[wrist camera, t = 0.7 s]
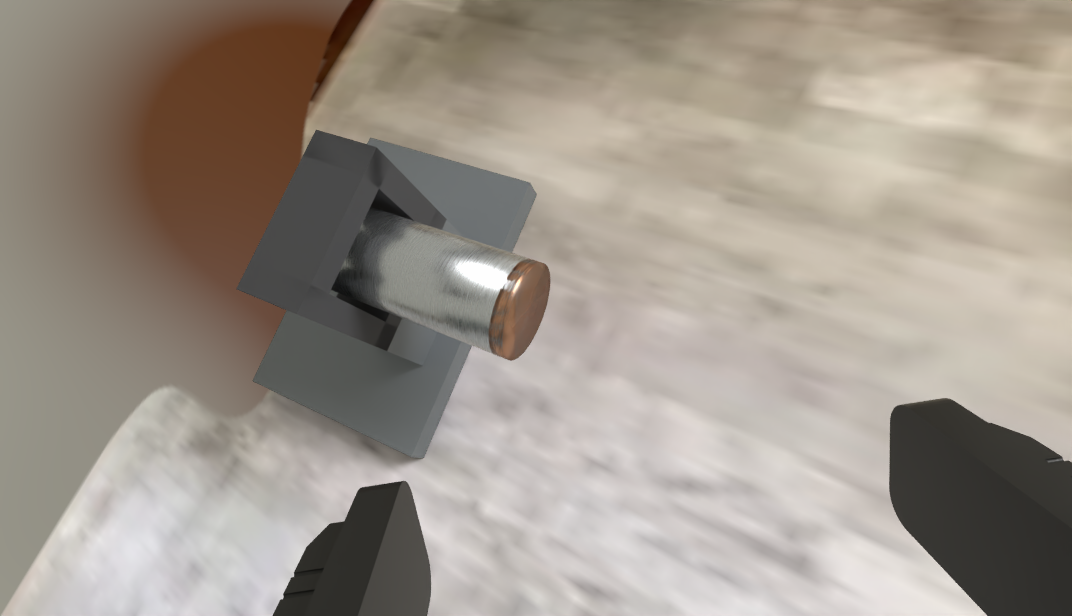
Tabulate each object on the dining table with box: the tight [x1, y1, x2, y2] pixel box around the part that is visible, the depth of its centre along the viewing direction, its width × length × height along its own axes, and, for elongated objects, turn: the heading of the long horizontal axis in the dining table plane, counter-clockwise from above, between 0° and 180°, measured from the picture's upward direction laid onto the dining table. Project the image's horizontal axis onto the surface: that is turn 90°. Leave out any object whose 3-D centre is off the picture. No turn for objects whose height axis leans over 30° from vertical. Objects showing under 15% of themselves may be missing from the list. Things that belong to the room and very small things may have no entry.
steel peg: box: [331, 207, 550, 360], centre depth 26 cm, size 4×11×4 cm, turn 67°
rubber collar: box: [237, 130, 447, 351], centre depth 27 cm, size 7×3×7 cm, turn 157°
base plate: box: [253, 138, 537, 458], centre depth 33 cm, size 16×11×6 cm
